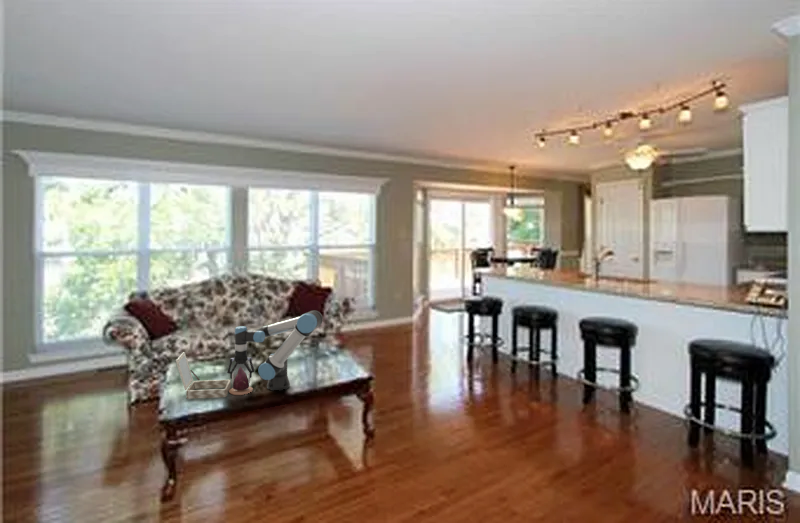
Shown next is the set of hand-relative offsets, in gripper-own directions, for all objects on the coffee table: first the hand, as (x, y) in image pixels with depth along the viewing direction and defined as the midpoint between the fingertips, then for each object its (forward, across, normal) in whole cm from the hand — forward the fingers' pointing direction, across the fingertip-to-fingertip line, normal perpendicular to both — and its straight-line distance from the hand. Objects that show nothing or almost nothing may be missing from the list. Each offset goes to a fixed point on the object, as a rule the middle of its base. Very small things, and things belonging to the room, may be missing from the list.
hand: (241, 382), depth 330 cm
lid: (-10, +35, 0) cm, 36 cm away
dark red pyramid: (+3, 0, 0) cm, 3 cm away
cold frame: (+6, +20, 0) cm, 21 cm away
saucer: (+6, 0, 0) cm, 6 cm away
